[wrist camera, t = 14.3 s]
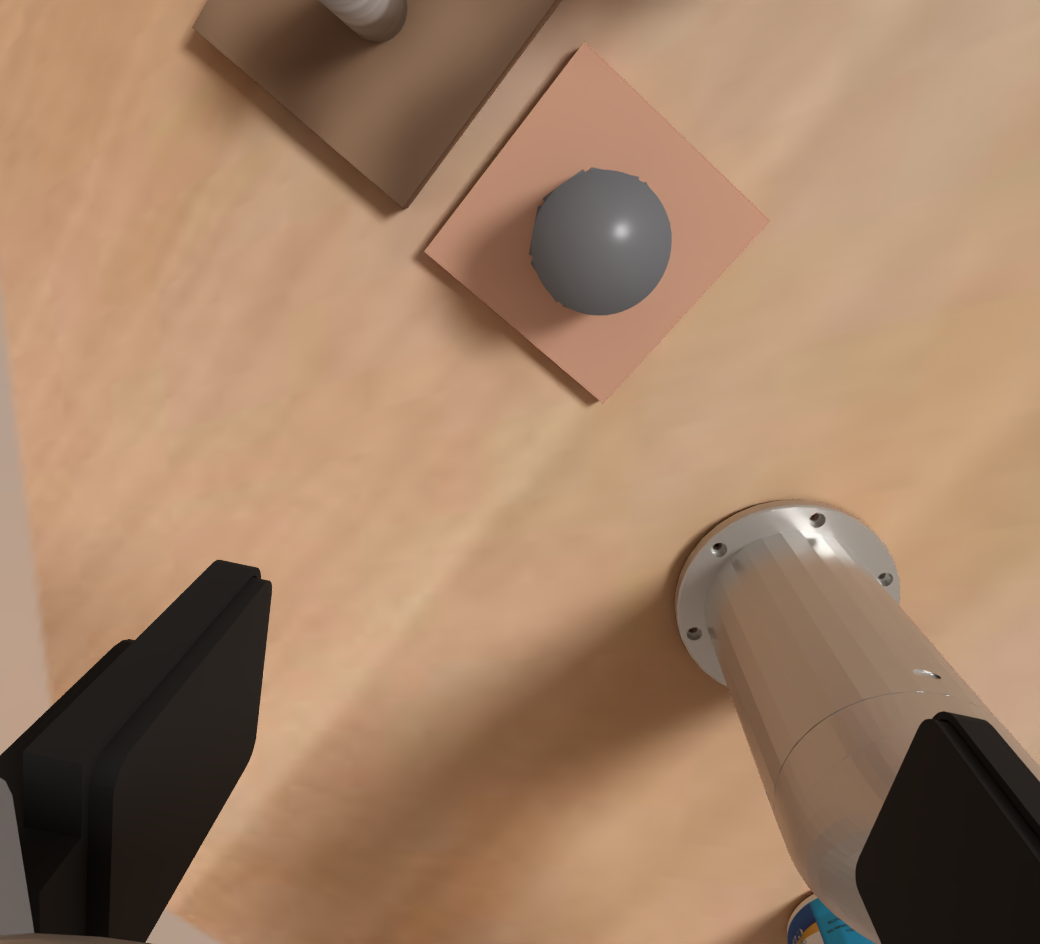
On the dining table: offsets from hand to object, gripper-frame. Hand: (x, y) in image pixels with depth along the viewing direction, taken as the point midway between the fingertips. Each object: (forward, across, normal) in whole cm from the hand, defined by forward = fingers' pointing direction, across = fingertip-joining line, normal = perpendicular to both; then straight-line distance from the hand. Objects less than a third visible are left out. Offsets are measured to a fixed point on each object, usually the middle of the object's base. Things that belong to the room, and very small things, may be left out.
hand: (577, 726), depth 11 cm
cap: (+30, 0, -6) cm, 31 cm away
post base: (+31, +12, -14) cm, 36 cm away
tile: (+31, 0, -6) cm, 32 cm away
